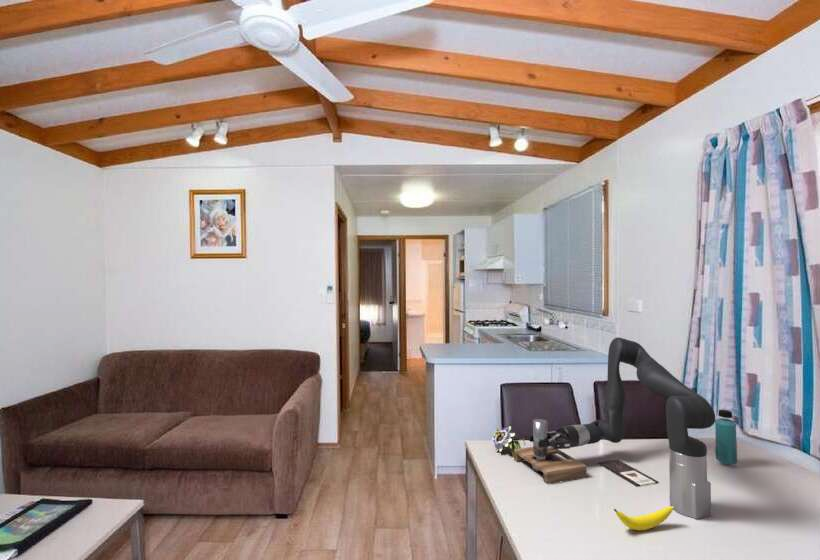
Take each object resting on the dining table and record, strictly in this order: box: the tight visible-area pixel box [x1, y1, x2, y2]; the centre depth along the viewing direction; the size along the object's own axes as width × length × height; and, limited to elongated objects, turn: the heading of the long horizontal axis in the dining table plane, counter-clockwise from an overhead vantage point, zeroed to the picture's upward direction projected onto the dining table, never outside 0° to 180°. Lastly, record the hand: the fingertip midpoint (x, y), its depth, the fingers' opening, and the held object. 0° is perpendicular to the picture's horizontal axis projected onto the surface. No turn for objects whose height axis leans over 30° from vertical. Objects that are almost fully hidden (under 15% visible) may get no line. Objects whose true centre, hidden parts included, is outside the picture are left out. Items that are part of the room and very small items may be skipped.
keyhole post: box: [531, 418, 549, 473], centre depth 147 cm, size 6×6×17 cm
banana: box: [613, 506, 674, 531], centre depth 111 cm, size 3×19×6 cm, turn 102°
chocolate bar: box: [597, 459, 659, 488], centre depth 144 cm, size 9×1×18 cm
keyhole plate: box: [513, 446, 587, 485], centre depth 148 cm, size 20×16×4 cm
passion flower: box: [491, 425, 526, 457], centre depth 163 cm, size 11×11×12 cm
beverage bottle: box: [714, 409, 739, 466], centre depth 151 cm, size 6×7×20 cm
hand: (534, 441), depth 147 cm, fingers closed on keyhole post, 5 cm apart
